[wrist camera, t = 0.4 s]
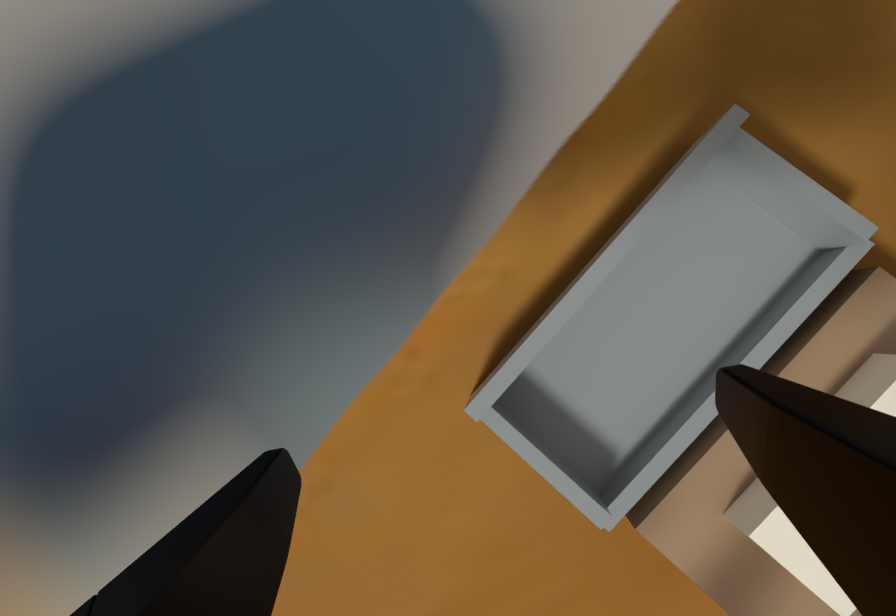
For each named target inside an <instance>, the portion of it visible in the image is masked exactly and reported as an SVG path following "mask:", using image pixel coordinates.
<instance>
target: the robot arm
mask: <svg viewBox="0 0 896 616" xmlns="http://www.w3.org/2000/svg"><path fill="white" fill-rule="evenodd" d="M715 405H716V409H717V411H718V413H719V415H720V417H721V418H722V420H723V422H724V423H725V425H726V427H727V428H728V430H729V431H730V433H731V435H732V436H733V438H734V440H735V441H736V443H737V445H738V446H739V448H740V449H741V451H742V453H743V454H744V456H745V458H746V459H747V461H748V463H749V464H750V466H751V468H752V469H753V471H754V472H755V474H756V475H757V477H758V479H759V480H760V482H761V483H762V485H763V486H764V487H765V489H766V490H767V491H768V493H769V494H770V496H771V497H772V498H773V500H774V501H775V502H776V503H777V505H778V506H779V507H780V509H781V510H782V511H783V513H784V514H785V515H786V517H787V518H788V519H789V521H790V522H791V523H792V524H793V526H794V527H795V528H796V530H797V531H798V532H799V534H800V535H801V536H802V538H803V539H804V540H805V542H806V543H807V544H808V545H809V547H810V548H811V549H812V551H813V552H814V553H815V555H816V556H817V557H818V559H819V560H820V561H821V563H822V564H823V565H824V566H825V568H826V569H827V570H828V572H829V573H830V574H831V576H832V577H833V578H834V580H835V581H836V582H837V584H838V585H839V586H840V587H841V589H842V590H843V591H844V593H845V594H846V595H847V597H848V598H849V599H850V601H851V602H852V603H853V604H854V606H855V607H856V608H857V610H858V611H859V612H860V614H861V615H862V616H896V417H895V416H892V415H889V414H886V413H883V412H880V411H877V410H874V409H871V408H869V407H866V406H863V405H860V404H857V403H854V402H851V401H848V400H845V399H842V398H839V397H837V396H834V395H831V394H828V393H825V392H822V391H819V390H816V389H813V388H810V387H807V386H805V385H802V384H799V383H796V382H793V381H790V380H787V379H784V378H781V377H778V376H775V375H773V374H770V373H767V372H764V371H761V370H758V369H755V368H752V367H749V366H746V365H743V364H735V365H729V366H724V367H720V368H719V369H718V370H717V372H716V380H715ZM300 490H301V476H300V473H299V471H298V469H297V468H296V466H295V464H294V462H293V460H292V458H291V456H290V454H289V452H288V451H287V450H286V449H284V448H279V449H273V450H268V451H266V452H264V453H263V454H261V455H260V456H259V457H258V458H257V459H256V460H254V461H253V462H252V463H251V464H250V465H248V466H247V467H246V468H245V469H244V470H243V471H241V472H240V473H239V474H238V475H236V476H235V477H234V478H233V479H232V480H230V481H229V482H228V483H227V484H226V485H225V486H223V487H222V488H221V489H220V490H219V491H218V492H216V493H215V494H214V495H213V496H211V497H210V498H209V499H208V500H207V501H205V503H203V504H202V505H201V506H200V507H199V508H197V509H196V510H195V511H194V512H192V513H191V514H190V515H189V516H188V517H186V518H185V519H184V520H183V521H182V522H181V523H179V524H178V525H177V526H176V527H175V528H173V529H172V530H171V531H170V532H169V533H167V534H166V535H165V536H164V537H163V538H162V539H160V540H159V541H158V542H157V543H156V544H155V545H153V546H152V547H151V548H150V549H148V550H147V551H146V552H145V553H144V554H143V555H141V556H140V557H139V558H138V559H137V560H135V561H134V562H133V563H132V564H131V565H129V566H128V567H127V568H126V569H125V570H123V571H122V572H121V573H120V574H119V575H118V576H116V577H115V578H114V579H113V580H112V581H110V582H109V583H108V584H107V585H106V586H105V587H103V588H102V589H101V590H100V591H99V592H98V594H97V595H94V596H92V597H91V598H90V599H89V600H88V601H86V602H85V603H84V604H83V605H82V606H81V607H79V608H78V609H77V610H76V611H75V612H73V613H72V614H71V615H70V616H271V614H272V611H273V607H274V604H275V600H276V597H277V593H278V590H279V586H280V583H281V580H282V576H283V573H284V569H285V565H286V561H287V558H288V553H289V549H290V544H291V539H292V533H293V528H294V522H295V517H296V512H297V506H298V501H299V495H300Z"/></svg>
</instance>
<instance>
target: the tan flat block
mask: <svg viewBox="0 0 896 616" xmlns="http://www.w3.org/2000/svg"><path fill="white" fill-rule="evenodd" d="M873 353H878V354H893V355H896V278H894V277H893V276H892V275H890V274H889V273H888V272H886V271H885V270H884V269H882V268H881V267H879V266H877V267H871V268H865V269H859V270H853V271H850V272H849V273H848V274H847V275H846V276H845V277H844V278H843V279H842V280H841V281H840V282H839V284H838V285H837V286H836V287H835V288H834V289H833V290H832V291H831V292H830V293H829V294H828V296H827V297H826V298H825V299H824V300H823V301H822V302H821V303H820V304H819V305H818V306H817V307H816V309H815V310H814V311H813V312H812V313H811V314H810V315H809V316H808V317H807V318H806V319H805V320H804V322H803V323H802V324H801V325H800V326H799V327H798V328H797V329H796V330H795V331H794V332H793V333H792V335H791V336H790V337H789V338H788V339H787V340H786V341H785V342H784V343H783V344H782V345H781V346H780V348H779V349H778V350H777V351H776V352H775V353H774V354H773V355H772V356H771V357H770V358H769V360H768V361H767V362H766V363H765V364H764V365H763V366H762V367H761V368H760V369H759V370H761V371H764V372H767V373H770V374H773V375H775V376H778V377H781V378H784V379H787V380H790V381H793V382H796V383H799V384H802V385H805V386H807V387H810V388H813V389H816V390H819V391H822V392H825V393H828V394H831V395H835V394H836V393H837V392H838V391H839V390H840V389H841V387H842V386H843V385H844V384H845V383H846V382H847V381H848V380H849V379H850V378H851V377H852V376H853V375H854V374H855V372H856V371H857V370H858V369H859V368H860V367H861V366H862V365H863V364H864V363H865V362H866V361H867V360H868V359H869V358H870V356H871V355H872V354H873ZM756 478H757V475H756V474H755V472H754V471H753V469H752V468H751V466H750V464H749V463H748V461H747V459H746V458H745V456H744V454H743V453H742V451H741V449H740V448H739V446H738V445H737V443H736V441H735V440H734V438H733V436H732V435H731V433H730V431H729V430H728V428H727V427H726V425H725V423H724V422H723V420H722V418H721V417H720V415H719V414H718V415H717V416H716V417H715V418H714V419H713V420H712V421H711V422H710V423H709V425H708V426H707V427H706V428H705V429H704V430H703V431H702V432H701V433H700V434H699V435H698V437H697V438H696V439H695V440H694V441H693V442H692V443H691V444H690V445H689V446H688V447H687V448H686V450H685V451H684V452H683V453H682V454H681V455H680V456H679V457H678V458H677V459H676V460H675V461H674V463H673V464H672V465H671V466H670V467H669V468H668V469H667V470H666V471H665V472H664V473H663V474H662V476H661V477H660V478H659V479H658V480H657V481H656V482H655V483H654V484H653V485H652V486H651V487H650V489H649V490H648V491H647V492H646V493H645V494H644V495H643V496H642V497H641V498H640V499H639V501H638V502H637V503H636V504H635V505H634V506H633V507H632V508H631V509H630V510H629V511H628V512H627V514H626V516H627V518H628V519H629V521H630V522H631V524H632V525H633V527H634V528H635V530H637V531H638V532H639V533H640V534H641V535H642V536H643V537H644V538H645V539H647V540H648V541H649V542H650V543H651V544H652V545H653V546H654V547H655V548H657V549H658V550H659V551H660V552H661V553H662V554H663V555H664V556H665V557H667V558H668V559H669V560H670V561H671V562H672V563H673V564H674V565H675V566H676V567H678V568H679V569H680V570H681V571H682V572H683V573H684V574H685V575H686V576H688V577H689V578H690V579H691V580H692V581H693V582H694V583H695V584H696V585H698V586H699V587H700V588H701V589H702V590H703V591H704V592H705V593H706V594H708V595H709V596H710V597H711V598H712V599H713V600H714V601H715V602H716V603H718V604H719V605H720V606H721V607H722V608H723V609H724V610H725V611H726V612H727V613H729V614H730V615H731V616H840V615H839V614H838V613H836V612H835V611H834V610H833V609H832V608H831V607H829V606H828V605H827V604H826V603H825V602H823V601H822V600H821V599H820V598H819V597H817V596H816V595H815V594H814V593H813V592H812V591H810V590H809V589H808V588H807V587H806V586H805V585H803V584H802V583H801V582H800V581H799V580H798V579H796V578H795V577H794V576H793V575H792V574H791V573H790V572H788V571H787V570H786V569H785V568H784V567H783V566H781V565H780V564H779V563H778V562H777V561H776V560H775V559H773V558H772V557H771V556H770V555H769V554H768V553H766V552H765V551H764V550H763V549H762V548H761V547H760V546H758V545H757V544H756V543H755V542H754V541H753V540H752V539H750V538H749V537H748V536H747V535H746V534H745V533H743V532H742V531H741V530H740V529H739V528H738V527H737V526H735V525H734V524H733V523H732V522H731V521H730V520H728V519H727V518H726V517H725V516H724V515H723V514H724V512H725V511H726V510H727V509H728V508H729V507H730V506H731V505H732V504H733V503H734V502H735V501H736V500H737V499H738V497H739V496H740V495H741V494H742V493H743V492H744V491H745V490H746V489H747V488H748V487H749V486H750V485H751V484H752V483H753V481H754V480H755V479H756ZM850 616H862V615H861V614H860V612H859V611H858V610H857V609H856V610H855V611H854V612H853V613H852V614H851V615H850Z"/></svg>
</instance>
